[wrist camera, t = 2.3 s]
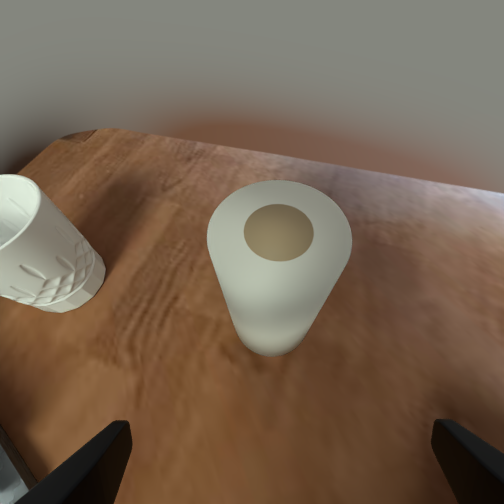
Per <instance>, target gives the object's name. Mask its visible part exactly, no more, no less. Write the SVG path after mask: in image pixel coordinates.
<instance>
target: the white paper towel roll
mask: <svg viewBox="0 0 504 504" xmlns="http://www.w3.org/2000/svg"><path fill="white" fill-rule="evenodd" d="M207 244H208V250H209V253H210V257H211V260H212V262H213V265H214V268H215V271H216V274H217V277H218V280H219V283H220V286H221V289H222V292H223V295H224V298H225V301H226V304H227V307H228V310H229V312H230V315H231V318H232V321H233V324H234V327H235V330H236V333H237V335H238V337H239V338H240V340H241V341H242V343H243V344H244V345H245V346H246V347H247V348H249V349H250V350H251V351H253V352H255V353H257V354H260V355H263V356H270V357H274V356H281V355H284V354H287V353H289V352H291V351H292V350H294V349H295V348H296V347H297V346H298V345H299V344H300V343H301V342H302V341H303V339H304V337H305V335H306V334H307V332H308V330H309V328H310V327H311V325H312V323H313V322H314V320H315V318H316V316H317V315H318V313H319V311H320V309H321V308H322V306H323V304H324V302H325V301H326V299H327V297H328V295H329V294H330V292H331V290H332V289H333V287H334V285H335V283H336V282H337V280H338V278H339V276H340V275H341V273H342V271H343V269H344V268H345V266H346V264H347V262H348V260H349V257H350V254H351V249H352V234H351V229H350V226H349V222H348V220H347V218H346V216H345V215H344V213H343V212H342V210H341V209H340V208H339V206H338V205H337V204H336V203H335V202H334V201H333V200H332V199H331V198H329V197H328V196H327V195H325V194H324V193H322V192H321V191H319V190H317V189H315V188H313V187H310V186H308V185H305V184H302V183H298V182H293V181H286V180H269V181H262V182H257V183H253V184H250V185H248V186H245V187H243V188H241V189H239V190H237V191H235V192H234V193H232V194H231V195H229V196H228V197H227V198H226V199H224V200H223V202H222V203H221V204H220V205H219V206H218V207H217V209H216V210H215V212H214V213H213V215H212V217H211V220H210V223H209V226H208V231H207Z"/></svg>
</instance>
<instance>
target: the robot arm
mask: <svg viewBox="0 0 504 504" xmlns="http://www.w3.org/2000/svg"><path fill="white" fill-rule="evenodd" d="M431 445H432V449H433V452H434V454H435V456H436V458H437V460H438V462H439V464H440V466H441V468H442V470H443V473H444V475H445V477H446V479H447V481H448V483H449V485H450V487H451V489H452V491H453V493H454V495H455V497H456V500H457V502H458V504H504V454H503V453H502V452H500V451H499V450H497V449H496V448H494V447H493V446H491V445H490V444H488V443H487V442H485V441H484V440H482V439H481V438H479V437H478V436H476V435H475V434H473V433H472V432H470V431H469V430H467V429H466V428H464V427H463V426H461V425H460V424H458V423H457V422H455V421H453V420H451V419H436V420H435V421H434V425H433V431H432V438H431ZM131 450H132V436H131V430H130V424H129V422H128V421H126V420H116V421H113V422H112V423H110V424H109V425H108V426H107V427H106V428H104V429H103V430H102V431H101V432H99V433H98V434H97V435H96V436H95V437H93V438H92V439H91V440H90V441H89V442H87V443H86V444H85V445H84V446H83V447H81V448H80V449H79V450H78V451H76V452H75V453H74V454H73V455H72V456H70V457H69V458H68V459H67V460H66V461H64V462H63V463H62V464H61V465H60V466H58V467H57V468H56V469H55V470H53V471H52V472H51V473H50V474H49V475H47V476H46V477H45V478H44V479H43V480H41V481H40V482H39V483H38V484H37V485H35V486H34V487H33V488H32V489H30V490H29V491H28V492H27V493H26V494H24V495H23V496H22V497H21V498H20V499H18V500H17V501H16V502H15V503H14V504H114V501H115V499H116V496H117V493H118V490H119V487H120V484H121V481H122V478H123V475H124V472H125V469H126V466H127V463H128V460H129V457H130V454H131Z"/></svg>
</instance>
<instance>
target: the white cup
mask: <svg viewBox="0 0 504 504" xmlns="http://www.w3.org/2000/svg"><path fill="white" fill-rule="evenodd" d="M105 271H106V268H105V265H104V262H103V260H102V257H101V256H100V255H99V254H98V253H97V252H96V251H95V250H94V249H93V248H92V247H91V246H90V244H89V243H88V241H87V240H86V239H85V237H84V236H83V235H82V234H81V233H80V232H79V231H78V230H77V228H76V227H75V226H74V225H73V224H72V222H71V221H70V220H69V219H68V218H67V217H66V216H65V215H64V214H63V213H62V212H61V211H60V209H59V208H58V207H57V206H56V205H55V204H54V203H53V202H52V201H51V200H50V199H49V198H48V196H47V195H46V194H45V193H44V192H43V191H42V190H41V189H40V188H39V187H38V185H37V184H36V183H35V182H33V181H32V180H31V179H29V178H26V177H24V176H20V175H11V174H6V175H0V296H3V297H6V298H9V299H12V300H14V301H17V302H20V303H24V304H27V305H31V306H34V307H36V308H39V309H41V310H44V311H48V312H57V313H63V312H66V311H69V310H72V309H76V308H79V307H80V306H82V305H83V304H84V303H86V302H87V301H88V300H90V299H91V298H92V297H94V295H95V294H96V292H97V291H98V290H99V288H100V287H101V285H102V284H103V281H104V276H105Z"/></svg>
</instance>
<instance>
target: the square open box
mask: <svg viewBox="0 0 504 504" xmlns="http://www.w3.org/2000/svg"><path fill="white" fill-rule="evenodd" d="M37 484H38V482H37V481H36V479H35V478H34V476H33V474H32V473H31V471H30V470H29V468H28V467H27V465H26V464H25V462H24V460H23V459H22V457H21V456H20V454H19V453H18V451H17V450H16V448H15V446H14V445H13V443H12V442H11V440H10V439H9V437H8V435H7V434H6V432H5V431H4V429H3V428H2V426H1V425H0V504H14V503H15V502H16V501H17V500H18V499H20V498H21V497H22V496H23V495H24V494H26V493H27V492H28V491H29V490H30V489H32V488H33V487H34V486H35V485H37Z"/></svg>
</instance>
